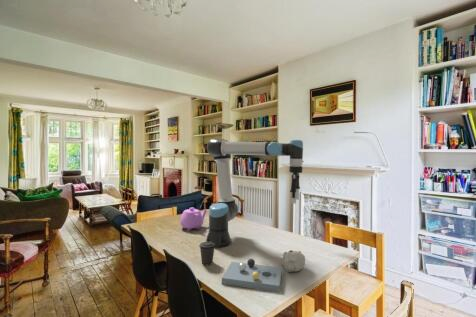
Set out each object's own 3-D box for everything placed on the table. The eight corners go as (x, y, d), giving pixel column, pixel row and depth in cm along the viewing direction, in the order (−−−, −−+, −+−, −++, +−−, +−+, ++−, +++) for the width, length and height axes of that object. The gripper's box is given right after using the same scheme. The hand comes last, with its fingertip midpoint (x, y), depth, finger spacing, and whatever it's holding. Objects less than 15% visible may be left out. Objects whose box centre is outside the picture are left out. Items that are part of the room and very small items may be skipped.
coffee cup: (217, 260, 125) (217, 240, 125) (212, 267, 117) (212, 246, 117) (202, 258, 127) (202, 239, 127) (196, 265, 119) (196, 245, 119)
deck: (221, 283, 103) (221, 277, 103) (231, 266, 118) (231, 261, 118) (279, 291, 97) (279, 285, 97) (281, 272, 113) (281, 267, 112)
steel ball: (237, 272, 107) (237, 264, 107) (239, 268, 111) (239, 261, 111) (245, 273, 107) (245, 265, 107) (246, 269, 110) (246, 262, 110)
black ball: (246, 267, 112) (246, 260, 112) (248, 264, 115) (248, 256, 115) (254, 268, 111) (254, 260, 111) (255, 265, 115) (255, 257, 115)
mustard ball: (251, 280, 101) (251, 273, 101) (252, 277, 104) (252, 270, 103) (258, 281, 100) (258, 274, 100) (259, 277, 103) (259, 270, 103)
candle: (286, 275, 109) (278, 264, 124) (310, 274, 110) (299, 263, 125) (285, 255, 110) (277, 246, 125) (309, 254, 111) (299, 245, 126)
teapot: (213, 229, 176) (213, 208, 176) (187, 234, 165) (187, 212, 165) (201, 222, 192) (201, 203, 192) (177, 226, 181) (177, 206, 181)
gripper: (300, 167, 133) (299, 205, 133) (304, 165, 156) (303, 198, 156) (286, 166, 135) (285, 204, 136) (292, 164, 159) (291, 197, 159)
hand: (295, 201), depth 146 cm, fingers open, 13 cm apart
